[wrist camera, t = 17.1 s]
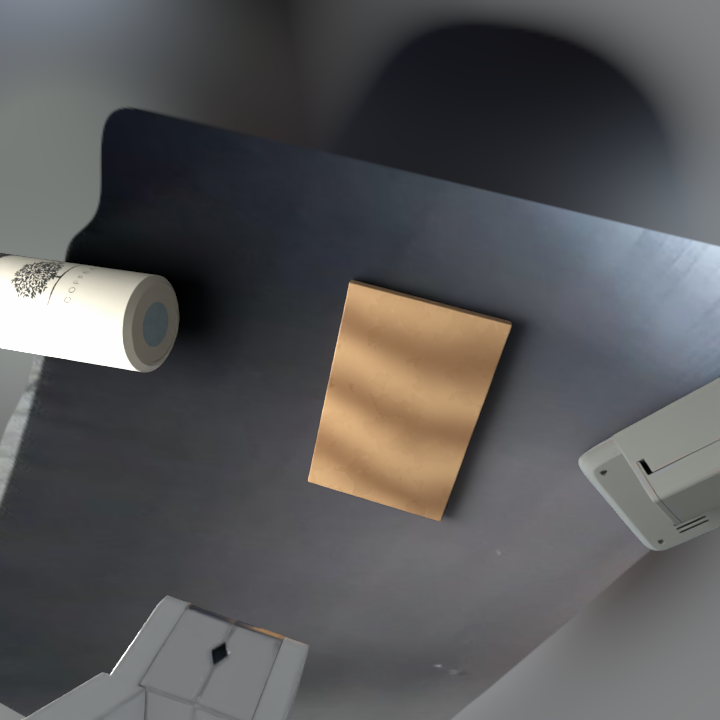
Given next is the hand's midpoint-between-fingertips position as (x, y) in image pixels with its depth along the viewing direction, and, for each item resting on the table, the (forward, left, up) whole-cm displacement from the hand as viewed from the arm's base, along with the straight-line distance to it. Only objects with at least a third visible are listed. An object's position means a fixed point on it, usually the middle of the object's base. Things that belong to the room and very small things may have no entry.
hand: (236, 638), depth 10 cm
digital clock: (+5, +22, -29) cm, 37 cm away
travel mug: (+8, -18, -28) cm, 35 cm away
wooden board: (+12, +2, -32) cm, 34 cm away
